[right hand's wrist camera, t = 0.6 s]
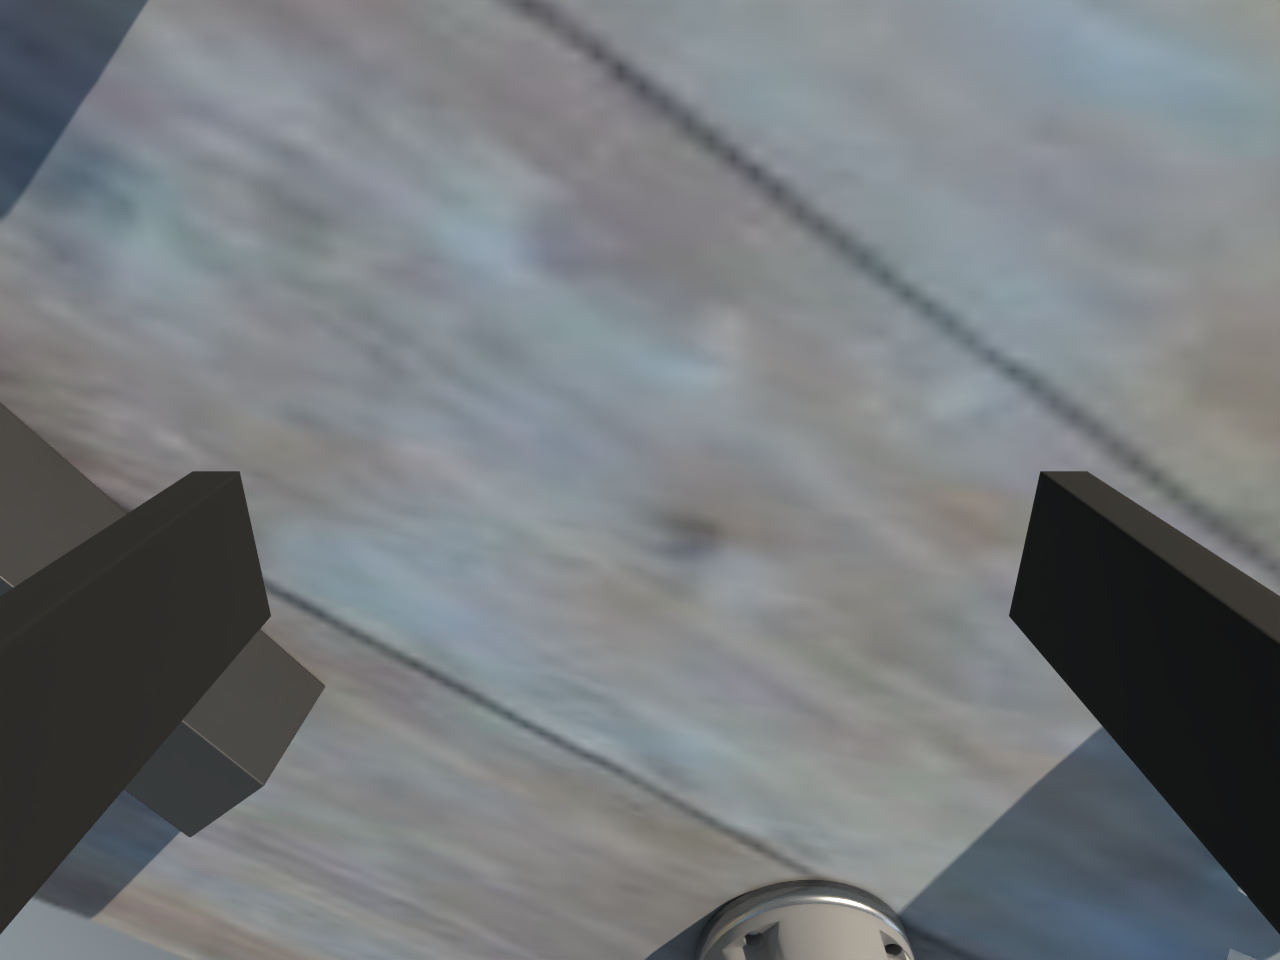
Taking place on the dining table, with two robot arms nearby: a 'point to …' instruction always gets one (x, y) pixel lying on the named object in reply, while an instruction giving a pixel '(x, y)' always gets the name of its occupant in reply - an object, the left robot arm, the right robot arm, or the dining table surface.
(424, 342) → the dining table surface
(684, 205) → the dining table surface
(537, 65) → the dining table surface
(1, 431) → the bar
